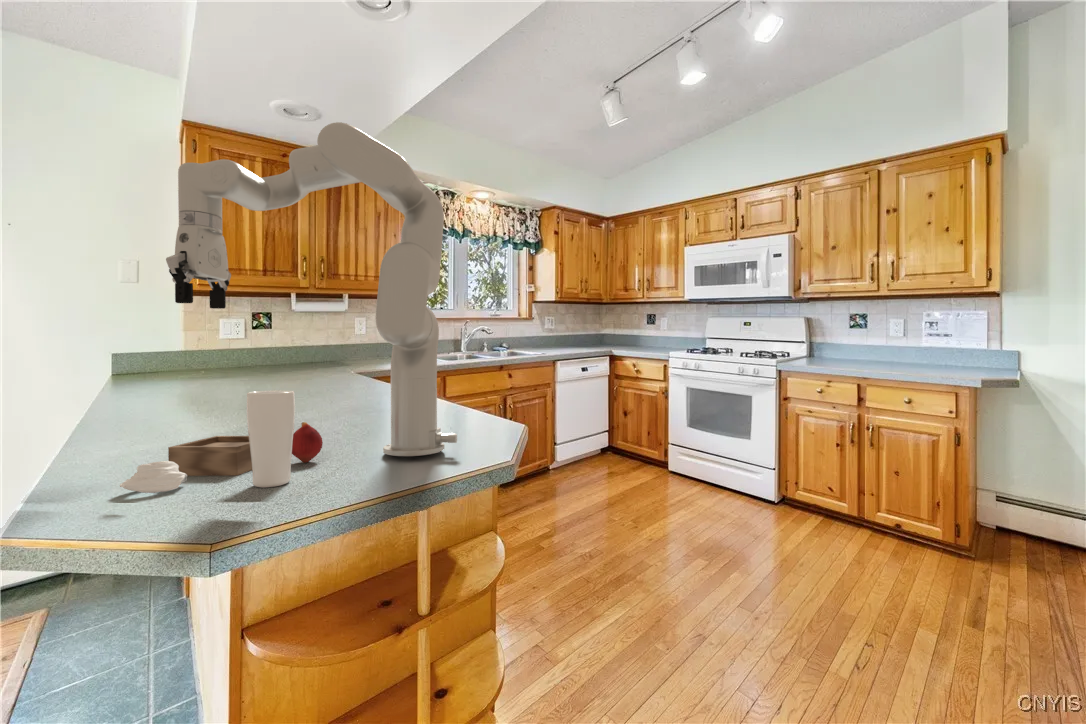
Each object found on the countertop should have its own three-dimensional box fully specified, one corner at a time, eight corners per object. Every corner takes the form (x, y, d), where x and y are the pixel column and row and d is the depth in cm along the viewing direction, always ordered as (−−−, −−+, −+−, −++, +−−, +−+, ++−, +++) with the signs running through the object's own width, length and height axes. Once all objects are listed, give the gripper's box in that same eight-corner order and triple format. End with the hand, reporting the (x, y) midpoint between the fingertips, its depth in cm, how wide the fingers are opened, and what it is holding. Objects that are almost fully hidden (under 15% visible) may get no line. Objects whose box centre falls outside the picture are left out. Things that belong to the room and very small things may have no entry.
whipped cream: (116, 502, 67) (116, 468, 67) (123, 491, 72) (122, 460, 72) (186, 492, 72) (186, 461, 72) (187, 483, 77) (187, 454, 77)
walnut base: (276, 460, 94) (276, 435, 93) (237, 475, 82) (237, 446, 81) (216, 460, 93) (216, 435, 93) (168, 475, 81) (168, 447, 81)
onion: (316, 458, 96) (316, 419, 96) (327, 462, 91) (326, 421, 91) (285, 462, 92) (284, 422, 91) (294, 467, 87) (294, 424, 87)
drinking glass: (264, 478, 79) (263, 390, 79) (303, 478, 79) (303, 390, 79) (237, 489, 72) (236, 393, 72) (280, 490, 72) (279, 393, 72)
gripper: (187, 212, 90) (188, 300, 91) (244, 235, 108) (245, 310, 108) (149, 212, 90) (149, 300, 91) (212, 236, 108) (212, 310, 108)
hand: (201, 305), depth 99 cm, fingers open, 9 cm apart
